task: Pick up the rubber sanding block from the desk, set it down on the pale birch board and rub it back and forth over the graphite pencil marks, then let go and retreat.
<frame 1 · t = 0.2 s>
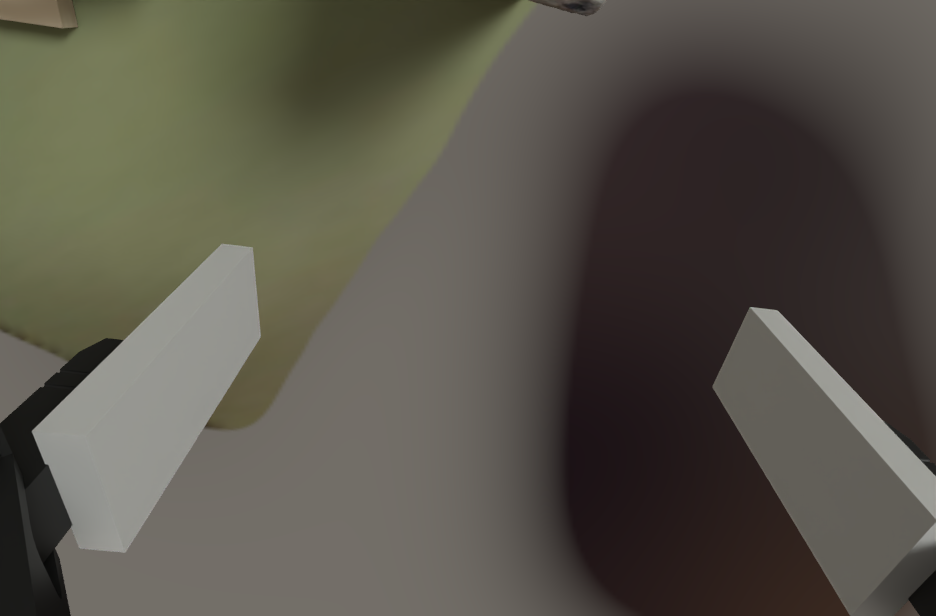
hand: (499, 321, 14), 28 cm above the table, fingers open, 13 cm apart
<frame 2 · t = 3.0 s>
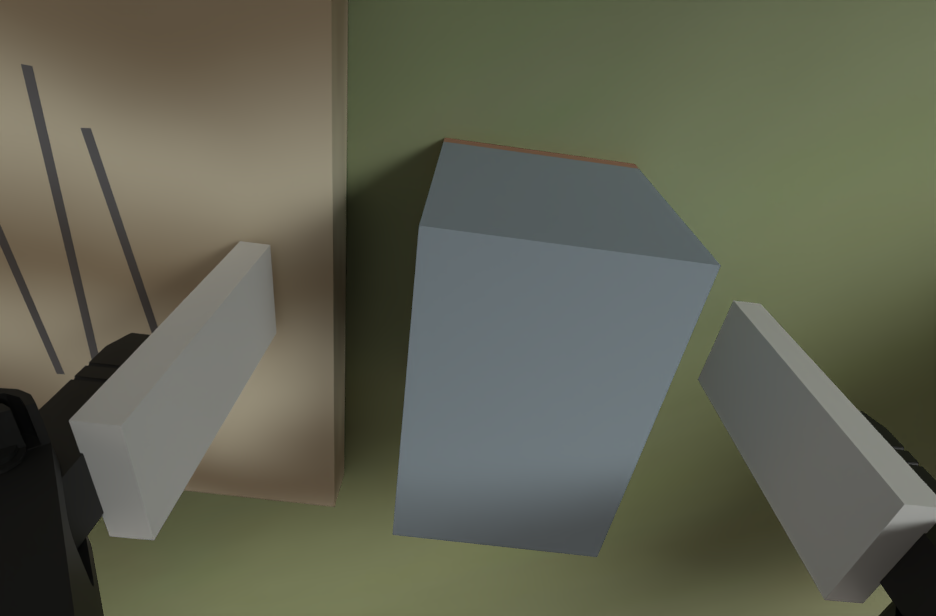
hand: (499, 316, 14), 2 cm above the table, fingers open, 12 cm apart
board: (99, 217, 15), on the table
sanding block: (513, 283, 16), on the table
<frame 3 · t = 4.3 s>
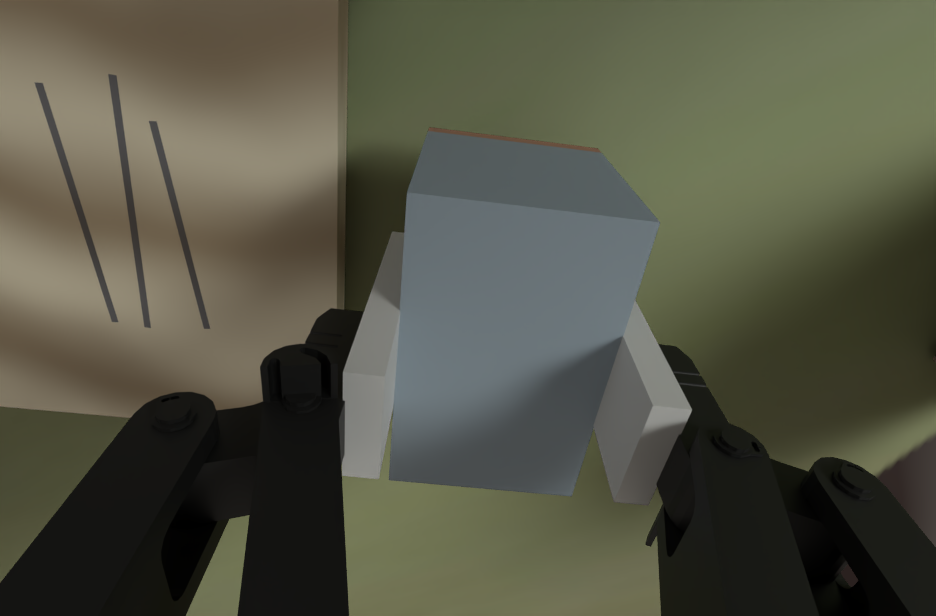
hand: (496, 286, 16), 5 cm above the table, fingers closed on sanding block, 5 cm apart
board: (150, 194, 19), on the table
sanding block: (494, 260, 17), point 3 cm above the table, touching gripper
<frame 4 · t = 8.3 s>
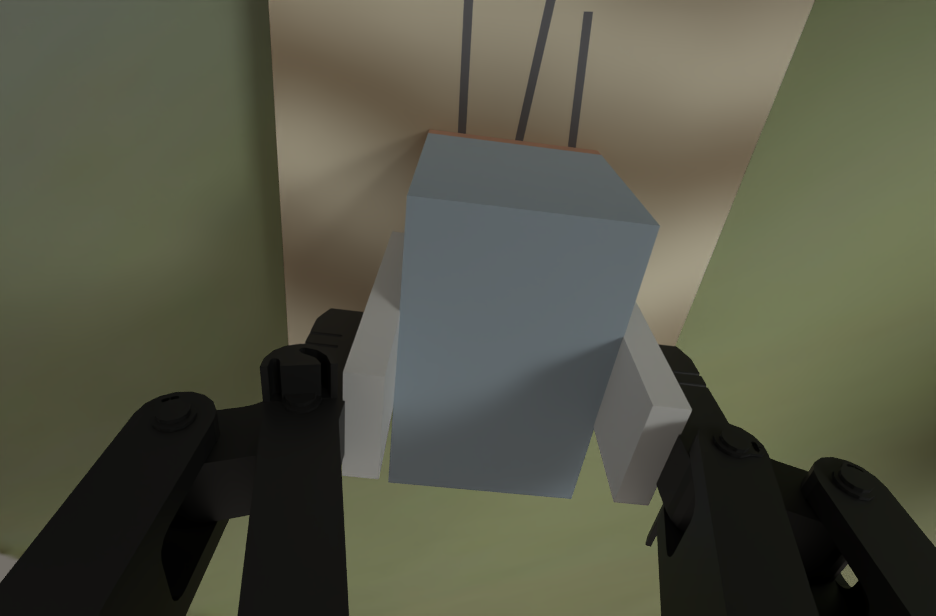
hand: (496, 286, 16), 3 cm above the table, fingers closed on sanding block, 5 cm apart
board: (515, 112, 16), on the table
sanding block: (494, 262, 17), point 2 cm above the table, touching board, gripper
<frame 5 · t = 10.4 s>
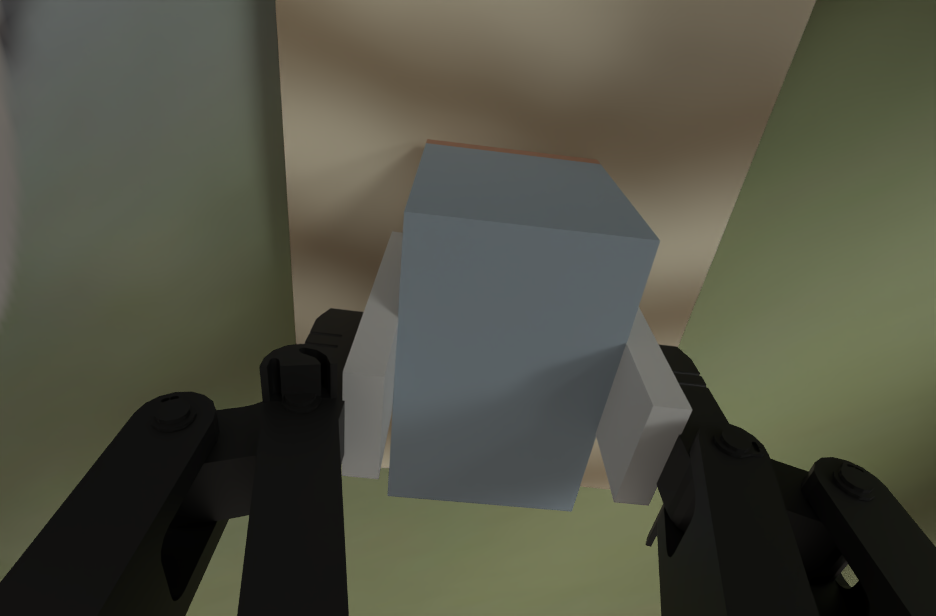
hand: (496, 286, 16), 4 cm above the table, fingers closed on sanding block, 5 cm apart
board: (494, 267, 19), on the table
sanding block: (493, 271, 17), point 2 cm above the table, touching gripper
when the fingers open (3 cm above the table, at t = 12.2 s): sanding block stays where it is, resting on board.
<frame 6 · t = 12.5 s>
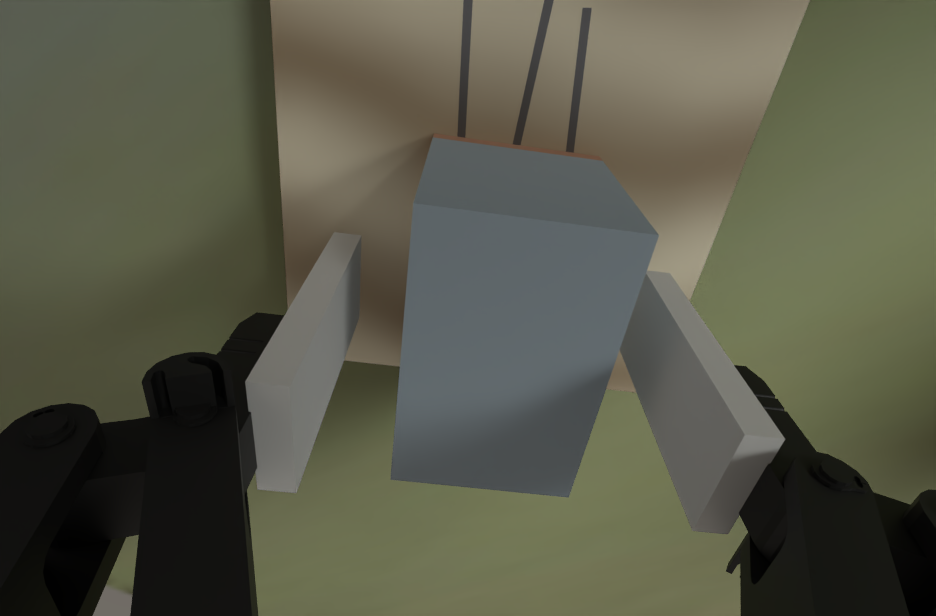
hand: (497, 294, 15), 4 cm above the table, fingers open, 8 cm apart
board: (515, 108, 17), on the table
sanding block: (496, 264, 18), point 2 cm above the table, touching board
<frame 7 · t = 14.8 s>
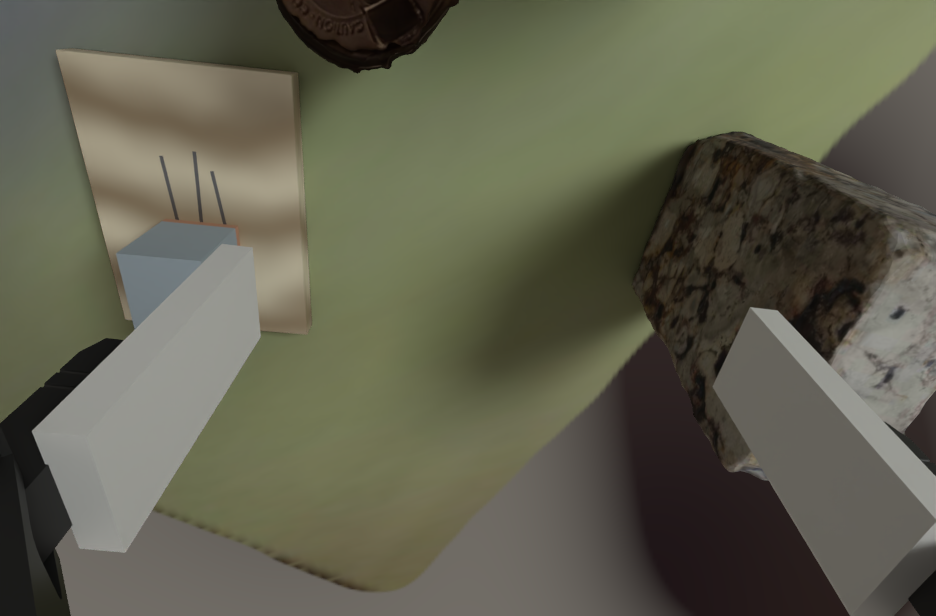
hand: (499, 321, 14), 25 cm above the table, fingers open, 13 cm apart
board: (207, 204, 38), on the table
stone block: (688, 216, 39), on the table
sanding block: (209, 273, 39), point 2 cm above the table, touching board
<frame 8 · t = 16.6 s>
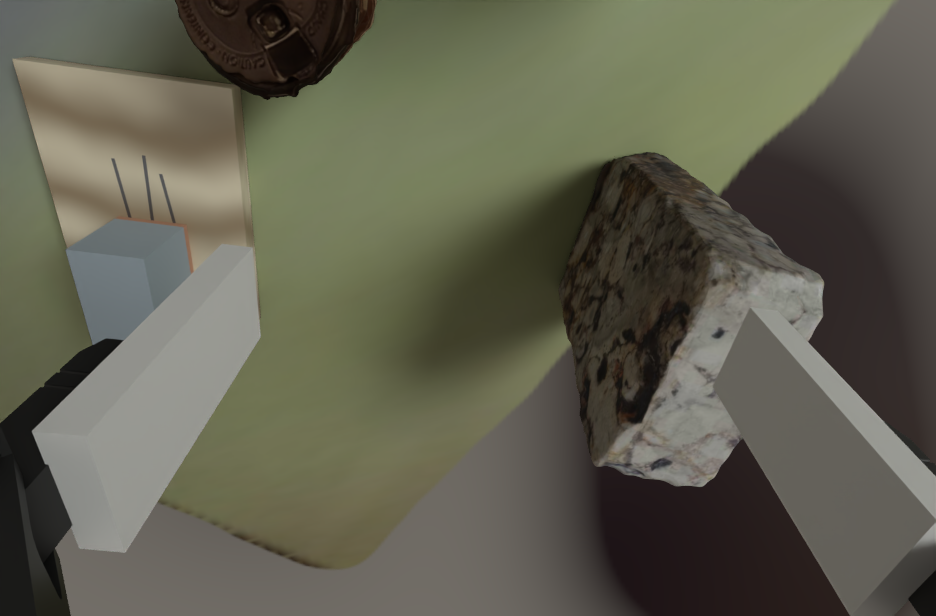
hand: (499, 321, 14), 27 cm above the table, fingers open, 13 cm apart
board: (159, 203, 41), on the table
stone block: (610, 228, 41), on the table
sanding block: (161, 267, 42), point 2 cm above the table, touching board
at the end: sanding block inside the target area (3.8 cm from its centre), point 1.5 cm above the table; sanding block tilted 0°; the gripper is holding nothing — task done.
